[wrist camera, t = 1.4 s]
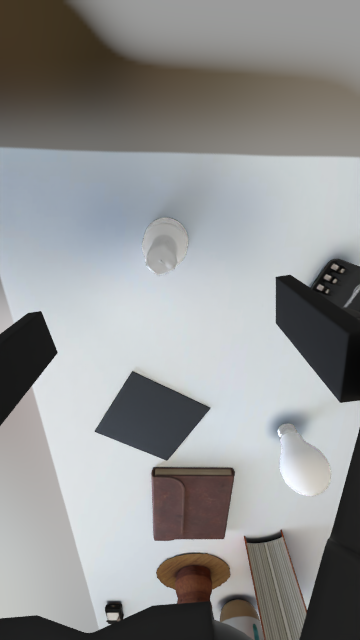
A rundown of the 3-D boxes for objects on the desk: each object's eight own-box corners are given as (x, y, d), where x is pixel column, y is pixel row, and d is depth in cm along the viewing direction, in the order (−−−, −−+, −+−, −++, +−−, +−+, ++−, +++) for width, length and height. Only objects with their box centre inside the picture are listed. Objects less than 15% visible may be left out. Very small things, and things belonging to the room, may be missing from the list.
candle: (195, 230, 31) (205, 246, 21) (176, 270, 33) (176, 304, 22) (154, 209, 30) (141, 213, 20) (137, 251, 32) (116, 277, 21)
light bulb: (310, 414, 44) (350, 478, 34) (294, 443, 46) (327, 510, 36) (272, 407, 43) (302, 471, 33) (258, 437, 46) (282, 503, 35)
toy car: (124, 617, 73) (122, 632, 71) (109, 617, 73) (107, 632, 71) (121, 600, 69) (119, 615, 67) (105, 600, 69) (103, 615, 67)
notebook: (233, 467, 49) (235, 478, 47) (223, 530, 57) (225, 541, 55) (152, 467, 48) (151, 477, 47) (153, 530, 57) (153, 541, 55)
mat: (95, 430, 45) (94, 431, 44) (132, 371, 40) (132, 372, 40) (167, 459, 48) (167, 460, 47) (210, 407, 43) (210, 408, 43)
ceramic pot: (143, 562, 62) (140, 604, 55) (215, 545, 59) (219, 587, 53) (174, 596, 69) (174, 637, 62) (239, 582, 66) (246, 623, 60)
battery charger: (328, 250, 33) (399, 274, 22) (352, 263, 33) (432, 292, 23) (295, 299, 35) (345, 340, 25) (318, 310, 36) (376, 354, 25)
